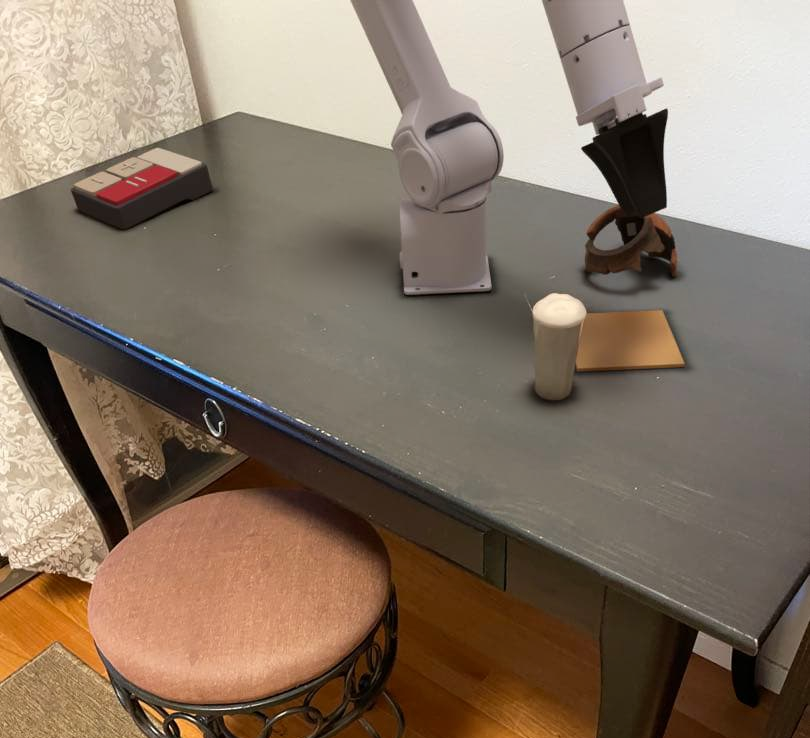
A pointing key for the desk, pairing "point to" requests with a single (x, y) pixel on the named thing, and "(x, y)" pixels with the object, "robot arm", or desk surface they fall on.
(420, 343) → the desk surface
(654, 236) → the broken clay pot
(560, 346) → the milkshake
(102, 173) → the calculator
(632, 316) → the coaster
